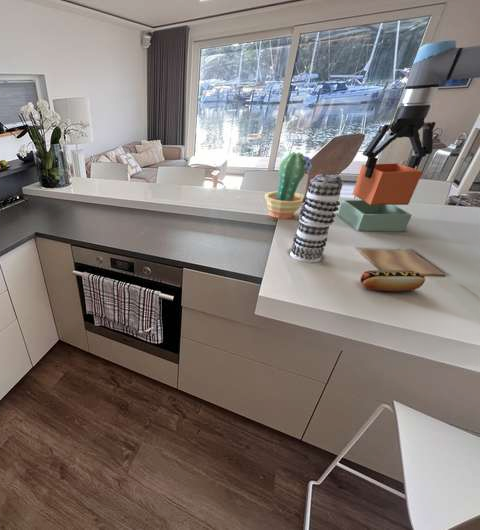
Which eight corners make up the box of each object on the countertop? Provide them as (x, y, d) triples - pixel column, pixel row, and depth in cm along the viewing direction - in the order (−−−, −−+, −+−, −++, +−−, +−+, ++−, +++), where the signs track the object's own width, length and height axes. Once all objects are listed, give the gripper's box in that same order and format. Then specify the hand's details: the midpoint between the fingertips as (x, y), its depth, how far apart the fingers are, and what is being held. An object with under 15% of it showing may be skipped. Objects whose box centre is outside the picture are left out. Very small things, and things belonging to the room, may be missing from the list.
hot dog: (424, 295, 71) (434, 278, 68) (364, 294, 73) (371, 278, 70) (409, 284, 75) (418, 268, 72) (353, 283, 77) (360, 267, 74)
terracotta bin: (386, 193, 107) (397, 163, 102) (408, 204, 96) (422, 171, 91) (352, 194, 110) (362, 164, 104) (370, 205, 99) (382, 172, 93)
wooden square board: (410, 252, 88) (411, 250, 88) (444, 276, 77) (445, 274, 76) (358, 250, 91) (359, 249, 91) (383, 273, 80) (384, 272, 79)
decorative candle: (282, 253, 93) (300, 175, 81) (302, 247, 96) (324, 170, 83) (307, 265, 86) (332, 182, 73) (329, 258, 89) (357, 176, 76)
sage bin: (378, 216, 113) (384, 199, 110) (403, 232, 100) (412, 214, 96) (337, 215, 116) (342, 200, 113) (357, 232, 103) (363, 214, 99)
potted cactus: (283, 224, 113) (298, 158, 100) (252, 213, 125) (263, 153, 113) (310, 216, 118) (328, 152, 105) (278, 206, 130) (291, 147, 118)
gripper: (451, 101, 89) (420, 173, 100) (364, 107, 94) (343, 175, 105) (471, 101, 83) (435, 178, 93) (377, 108, 88) (353, 180, 98)
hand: (387, 176), depth 99 cm, fingers closed on terracotta bin, 11 cm apart
